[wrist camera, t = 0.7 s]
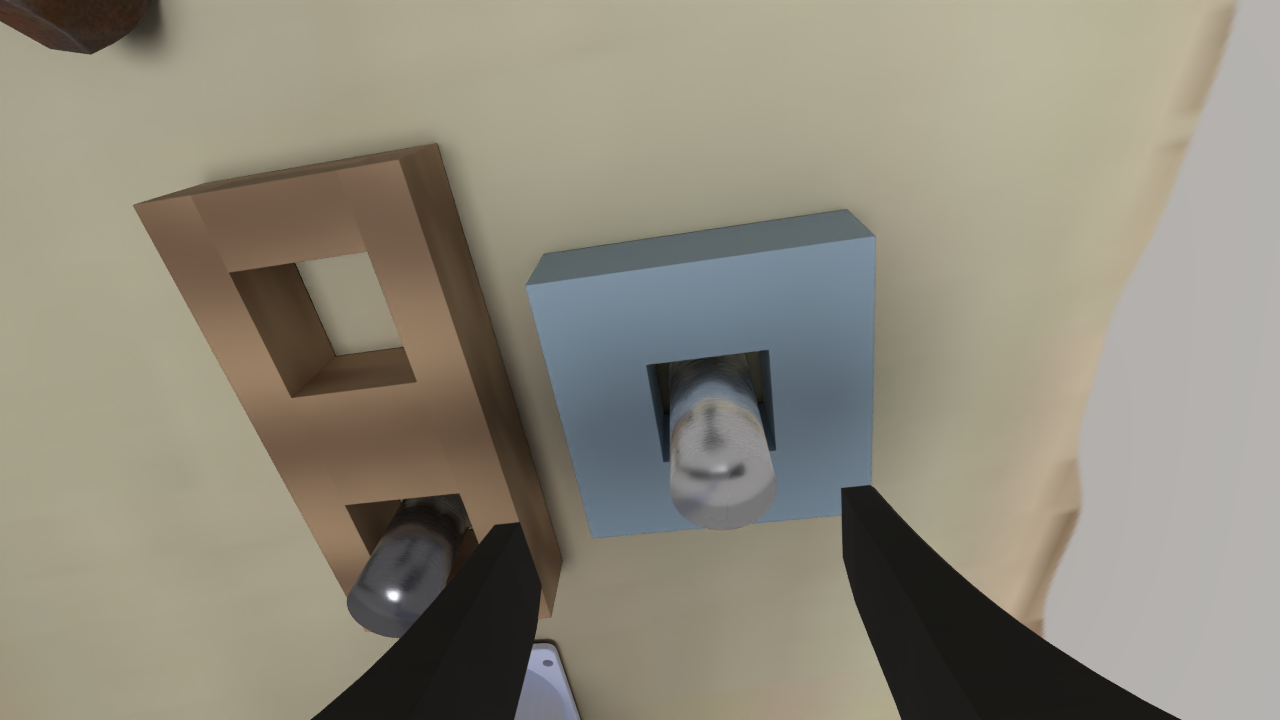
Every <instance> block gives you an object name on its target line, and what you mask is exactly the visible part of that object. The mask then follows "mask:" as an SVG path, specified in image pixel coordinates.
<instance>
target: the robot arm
mask: <svg viewBox="0 0 1280 720" xmlns="http://www.w3.org/2000/svg"><path fill="white" fill-rule="evenodd" d="M841 506H842V544H843V560H844V564H845V567H846V571H847V575H848V578H849V582H850V586H851V589H852V593H853V596H854V600H855V603H856V606H857V608H858V611H859V613H860V616H861V618H862V621H863V623H864V626H865V628H866V631H867V633H868V636H869V638H870V641H871V643H872V646H873V648H874V651H875V653H876V656H877V658H878V661H879V663H880V666H881V668H882V671H883V673H884V676H885V678H886V681H887V683H888V686H889V688H890V691H891V693H892V696H893V698H894V701H895V703H896V706H897V709H898V711H899V714H900V717H901V720H1181V719H1179V718H1176V717H1175V716H1173V715H1171V714H1169V713H1167V712H1165V711H1163V710H1161V709H1159V708H1157V707H1155V706H1153V705H1151V704H1149V703H1148V702H1146V701H1144V700H1142V699H1141V698H1139V697H1137V696H1135V695H1133V694H1132V693H1130V692H1128V691H1127V690H1125V689H1123V688H1121V687H1120V686H1118V685H1116V684H1114V683H1113V682H1111V681H1109V680H1107V679H1106V678H1104V677H1102V676H1101V675H1099V674H1097V673H1096V672H1094V671H1092V670H1091V669H1089V668H1088V667H1086V666H1084V665H1083V664H1081V663H1080V662H1078V661H1077V660H1075V659H1074V658H1072V657H1070V656H1069V655H1067V654H1066V653H1064V652H1063V651H1061V650H1060V649H1058V648H1056V647H1055V646H1053V645H1052V644H1050V643H1049V642H1047V641H1046V640H1044V639H1043V638H1041V637H1040V636H1039V635H1037V634H1036V633H1034V632H1033V631H1032V630H1030V629H1029V628H1027V627H1026V626H1024V625H1023V624H1022V623H1020V622H1019V621H1018V620H1016V619H1015V618H1014V617H1012V616H1011V615H1010V614H1008V613H1007V612H1006V611H1004V610H1003V609H1002V608H1000V607H999V606H998V605H997V604H995V603H994V602H993V601H992V600H990V599H989V598H988V597H987V596H985V595H984V594H983V593H982V592H980V591H979V590H978V589H977V588H976V587H974V586H973V585H972V584H971V583H970V582H969V581H967V580H966V579H965V578H964V577H963V576H962V575H961V574H959V573H958V572H957V571H956V570H955V569H954V568H953V567H952V566H950V565H949V564H948V563H947V562H946V561H945V560H944V559H943V558H942V557H941V556H940V555H939V554H937V553H936V552H935V551H934V550H933V549H932V548H931V547H930V546H929V545H928V544H927V543H926V542H925V541H924V540H923V539H922V538H921V537H920V536H919V535H918V534H917V533H916V532H915V531H914V530H913V529H912V528H911V527H910V526H909V525H908V524H907V523H906V522H905V521H904V520H903V519H902V518H901V517H900V516H899V515H898V513H897V512H896V511H895V510H894V509H893V508H892V507H891V506H890V505H889V504H888V503H887V501H886V500H885V499H884V498H883V497H882V496H881V495H880V494H879V492H878V491H877V490H876V489H875V488H874V487H872V486H871V485H864V486H855V487H845V488H841ZM541 589H542V584H541V581H540V579H539V576H538V573H537V570H536V567H535V564H534V561H533V558H532V555H531V553H530V550H529V547H528V544H527V541H526V538H525V535H524V532H523V529H522V527H521V524H520V522H515V523H506V524H496V525H494V526H493V527H492V529H491V530H490V531H489V532H488V534H487V535H486V536H485V537H484V539H483V540H482V541H481V542H480V544H479V545H478V546H477V547H476V549H475V550H474V551H473V553H472V554H471V555H470V556H469V558H468V559H467V560H466V561H465V563H464V564H463V565H462V567H461V568H460V569H459V570H458V572H457V573H456V574H455V575H454V577H453V578H452V579H451V580H450V581H449V583H448V584H447V585H446V586H445V588H444V589H443V590H442V591H441V593H440V594H439V595H438V596H437V597H436V599H435V600H434V601H433V602H432V603H431V604H430V606H429V607H428V608H427V609H426V610H425V611H424V612H423V613H422V615H421V616H420V617H419V618H418V619H417V620H416V621H415V623H414V624H413V625H412V626H411V627H410V628H409V629H408V630H407V632H406V633H405V634H404V635H403V636H402V637H401V638H400V639H399V640H398V641H397V642H396V643H395V644H394V645H393V646H392V647H391V648H390V649H389V650H388V651H387V652H386V653H385V654H384V655H383V656H382V657H381V658H380V659H379V660H378V661H377V662H376V663H375V664H374V665H373V666H372V667H371V668H370V669H369V670H368V671H367V672H366V673H364V674H363V675H362V676H361V677H360V678H359V679H358V680H357V681H356V682H354V683H353V684H352V685H351V686H350V687H349V688H347V689H346V690H345V691H344V692H343V693H342V694H341V695H339V696H338V697H337V698H336V699H335V700H334V701H332V702H331V703H330V704H329V705H328V706H327V707H326V708H324V709H323V710H322V711H321V712H320V713H318V714H317V715H316V716H315V717H313V718H312V719H311V720H580V717H579V714H578V711H577V708H576V705H575V702H574V699H573V696H572V693H571V690H570V687H569V684H568V681H567V678H566V675H565V672H564V669H563V666H562V664H561V661H560V658H559V655H558V652H557V649H556V648H555V646H553V645H552V644H549V643H540V644H533V643H534V638H535V634H536V630H537V623H538V615H539V607H540V598H541Z"/></svg>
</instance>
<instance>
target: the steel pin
mask: <svg viewBox="0 0 1280 720" xmlns="http://www.w3.org/2000/svg"><path fill="white" fill-rule="evenodd" d="M776 491H777V483H776V478H775V474H774V470H773V466H772V462H771V457H770V453H769V449H768V445H767V441H766V437H765V433H764V429H763V425H762V421H761V417H760V413H759V409H758V405H757V401H756V397H755V392H754V388H753V384H752V380H751V376H750V372H749V368H748V364H747V360H746V356H745V353H738V354H730V355H722V356H714V357H706V358H698V359H690V360H682V361H674V362H670V495H671V499H672V502H673V504H674V506H675V508H676V509H677V511H678V512H679V513H680V514H681V515H682V516H683V517H684V518H685V519H687V520H688V521H690V522H692V523H694V524H696V525H698V526H701V527H704V528H708V529H714V530H730V529H736V528H740V527H743V526H746V525H748V524H751V523H753V522H754V521H756V520H758V519H759V518H760V517H762V516H763V515H764V514H765V513H766V512H767V511H768V510H769V508H770V507H771V505H772V503H773V502H774V499H775V496H776Z"/></svg>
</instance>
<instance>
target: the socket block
mask: <svg viewBox="0 0 1280 720" xmlns="http://www.w3.org/2000/svg"><path fill="white" fill-rule="evenodd" d="M526 290H527V294H528V298H529V302H530V305H531V309H532V313H533V317H534V320H535V324H536V328H537V332H538V336H539V339H540V343H541V347H542V351H543V354H544V358H545V362H546V366H547V370H548V373H549V377H550V381H551V385H552V388H553V392H554V396H555V400H556V403H557V407H558V411H559V415H560V419H561V422H562V426H563V430H564V434H565V437H566V441H567V445H568V449H569V453H570V456H571V460H572V464H573V468H574V471H575V475H576V479H577V483H578V487H579V490H580V494H581V498H582V502H583V505H584V509H585V513H586V517H587V521H588V524H589V528H590V532H591V536H592V538H602V537H613V536H623V535H634V534H645V533H656V532H666V531H677V530H688V529H699V528H704V527H701V526H698V525H696V524H694V523H692V522H690V521H688V520H687V519H685V518H684V517H683V516H682V515H681V514H680V513H679V512H678V511H677V509H676V508H675V506H674V504H673V502H672V499H671V495H670V414H664V412H663V406H662V400H661V394H660V389H659V383H658V377H657V371H656V365H655V364H658V363H666V362H674V361H682V360H690V359H698V358H706V357H714V356H722V355H730V354H738V353H746V352H754V351H760V363H761V375H762V388H763V400H764V403H759V404H757V405H758V409H759V413H760V417H761V421H762V425H763V429H764V433H765V437H766V441H767V445H768V449H769V453H770V457H771V462H772V466H773V470H774V474H775V478H776V483H777V491H776V496H775V499H774V502H773V503H772V505H771V507H770V508H769V510H768V511H767V512H766V513H765V514H764V515H763V516H762V517H760V518H759V519H758V520H756V521H754V522H753V523H763V522H774V521H785V520H796V519H806V518H817V517H828V516H839V515H842V506H841V488H845V487H855V486H864V485H871V473H872V413H873V353H874V293H875V235H874V234H873V233H872V232H871V231H869V230H868V229H867V228H866V227H865V226H864V225H863V224H862V223H861V222H860V221H859V220H858V219H857V218H856V217H854V216H853V215H852V214H851V213H850V212H849V211H848V210H840V211H833V212H826V213H820V214H813V215H806V216H799V217H793V218H786V219H779V220H772V221H765V222H759V223H752V224H745V225H738V226H732V227H725V228H718V229H711V230H704V231H698V232H691V233H684V234H677V235H671V236H664V237H657V238H650V239H644V240H637V241H630V242H623V243H616V244H610V245H603V246H596V247H589V248H583V249H576V250H569V251H562V252H556V253H549V254H544V255H543V257H542V258H541V260H540V262H539V263H538V265H537V267H536V269H535V270H534V272H533V274H532V275H531V277H530V279H529V280H528V282H527V284H526ZM753 523H751V524H753Z"/></svg>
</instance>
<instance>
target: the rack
mask: <svg viewBox="0 0 1280 720" xmlns="http://www.w3.org/2000/svg"><path fill="white" fill-rule="evenodd" d="M133 206H134V208H135V210H136V212H137V214H138V216H139V217H140V219H141V221H142V223H143V225H144V227H145V228H146V230H147V232H148V234H149V236H150V238H151V239H152V241H153V243H154V245H155V247H156V249H157V250H158V252H159V254H160V256H161V258H162V260H163V261H164V263H165V265H166V267H167V269H168V271H169V272H170V274H171V276H172V278H173V280H174V282H175V283H176V285H177V287H178V289H179V291H180V293H181V294H182V296H183V298H184V300H185V302H186V304H187V305H188V307H189V309H190V311H191V313H192V315H193V316H194V318H195V320H196V322H197V324H198V326H199V327H200V329H201V331H202V333H203V335H204V337H205V338H206V340H207V342H208V344H209V346H210V348H211V349H212V351H213V353H214V355H215V357H216V359H217V360H218V362H219V364H220V366H221V368H222V370H223V371H224V373H225V375H226V377H227V379H228V381H229V382H230V384H231V386H232V388H233V390H234V392H235V393H236V395H237V397H238V399H239V401H240V403H241V404H242V406H243V408H244V410H245V412H246V414H247V415H248V417H249V419H250V421H251V423H252V424H253V426H254V428H255V430H256V432H257V434H258V435H259V437H260V439H261V441H262V443H263V445H264V446H265V448H266V450H267V452H268V454H269V456H270V457H271V459H272V461H273V463H274V465H275V467H276V468H277V470H278V472H279V474H280V476H281V478H282V479H283V481H284V483H285V485H286V487H287V489H288V490H289V492H290V494H291V496H292V498H293V500H294V501H295V503H296V505H297V507H298V509H299V511H300V512H301V514H302V516H303V518H304V520H305V522H306V523H307V525H308V527H309V529H310V531H311V533H312V534H313V536H314V538H315V540H316V542H317V544H318V545H319V547H320V549H321V551H322V553H323V555H324V556H325V558H326V560H327V562H328V564H329V566H330V567H331V569H332V571H333V573H334V575H335V577H336V578H337V580H338V582H339V584H340V586H341V588H342V589H343V591H344V593H345V595H346V597H348V594H349V593H350V591H351V589H352V587H353V586H354V584H355V582H356V580H357V579H358V577H359V575H360V574H361V572H362V570H363V568H364V567H365V565H366V563H367V561H368V560H369V558H370V556H371V555H372V553H373V551H374V549H375V548H376V546H377V544H378V542H379V541H380V539H381V537H382V536H383V534H384V532H385V530H386V529H387V527H388V525H389V523H390V522H391V520H392V518H393V517H394V515H395V513H396V511H397V510H398V508H399V506H400V504H401V503H400V501H399V499H408V498H418V497H427V496H437V495H447V494H456V493H460V496H461V498H462V501H463V503H464V506H465V509H466V511H467V514H468V517H469V519H470V522H471V524H472V527H473V530H467V533H466V535H465V538H464V540H463V543H462V545H461V547H460V550H459V552H458V555H457V557H456V560H455V562H454V565H453V567H452V569H451V572H450V574H449V577H448V579H447V582H446V584H445V586H446V585H447V584H448V583H449V581H450V580H451V579H452V578H453V577H454V575H455V574H456V573H457V572H458V570H459V569H460V568H461V567H462V565H463V564H464V563H465V561H466V560H467V559H468V558H469V556H470V555H471V554H472V553H473V551H474V550H475V549H476V547H477V546H478V545H479V544H480V542H481V541H482V540H483V539H484V537H485V536H486V535H487V534H488V532H489V531H490V530H491V529H492V527H493V526H494V525H496V524H506V523H515V522H520V524H521V527H522V529H523V532H524V535H525V538H526V541H527V544H528V547H529V550H530V553H531V555H532V558H533V561H534V564H535V567H536V570H537V573H538V576H539V579H540V581H541V584H542V589H541V598H540V607H539V615H538V619H539V618H551V616H552V611H553V606H554V601H555V597H556V592H557V587H558V582H559V577H560V572H561V567H562V562H563V560H562V557H561V554H560V551H559V547H558V544H557V541H556V537H555V534H554V531H553V527H552V524H551V521H550V517H549V514H548V511H547V507H546V504H545V501H544V498H543V494H542V491H541V488H540V484H539V481H538V478H537V474H536V471H535V468H534V464H533V461H532V458H531V454H530V451H529V448H528V444H527V441H526V438H525V435H524V431H523V428H522V425H521V421H520V418H519V415H518V411H517V408H516V405H515V401H514V398H513V395H512V391H511V388H510V385H509V382H508V378H507V375H506V372H505V368H504V365H503V362H502V358H501V355H500V352H499V348H498V345H497V342H496V338H495V335H494V332H493V328H492V325H491V322H490V319H489V315H488V312H487V309H486V305H485V302H484V299H483V295H482V292H481V289H480V285H479V282H478V279H477V275H476V272H475V269H474V266H473V262H472V259H471V256H470V252H469V249H468V246H467V242H466V239H465V236H464V232H463V229H462V226H461V222H460V219H459V216H458V213H457V209H456V206H455V203H454V199H453V196H452V193H451V189H450V186H449V183H448V179H447V176H446V173H445V169H444V166H443V163H442V159H441V156H440V153H439V150H438V146H437V143H435V144H429V145H424V146H418V147H412V148H406V149H400V150H395V151H389V152H383V153H377V154H371V155H366V156H360V157H354V158H348V159H342V160H337V161H331V162H325V163H319V164H313V165H308V166H302V167H296V168H290V169H284V170H278V171H273V172H267V173H261V174H255V175H249V176H244V177H238V178H232V179H226V180H220V181H215V182H209V183H204V184H200V185H197V186H194V187H191V188H187V189H184V190H181V191H177V192H174V193H171V194H167V195H164V196H161V197H157V198H154V199H151V200H148V201H144V202H141V203H138V204H134V205H133ZM360 252H368V255H369V257H370V260H371V262H372V265H373V268H374V270H375V273H376V276H377V278H378V281H379V283H380V286H381V289H382V291H383V294H384V297H385V299H386V302H387V304H388V307H389V310H390V312H391V315H392V317H393V320H394V323H395V325H396V328H397V331H398V333H399V336H400V338H401V341H402V344H403V346H404V347H402V348H395V349H388V350H380V351H373V352H365V353H358V354H350V355H343V356H335V354H334V352H333V349H332V347H331V345H330V343H329V340H328V338H327V336H326V334H325V331H324V329H323V327H322V325H321V322H320V320H319V318H318V316H317V313H316V311H315V309H314V307H313V304H312V302H311V300H310V298H309V295H308V293H307V291H306V289H305V286H304V284H303V282H302V279H301V277H300V275H299V273H298V270H297V268H296V266H295V264H294V263H295V262H301V261H308V260H315V259H321V258H328V257H334V256H341V255H347V254H354V253H360ZM445 586H444V588H445ZM363 628H364V627H363ZM364 630H365V631H366V632H371V631H369V630H367V629H366V628H364Z"/></svg>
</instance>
